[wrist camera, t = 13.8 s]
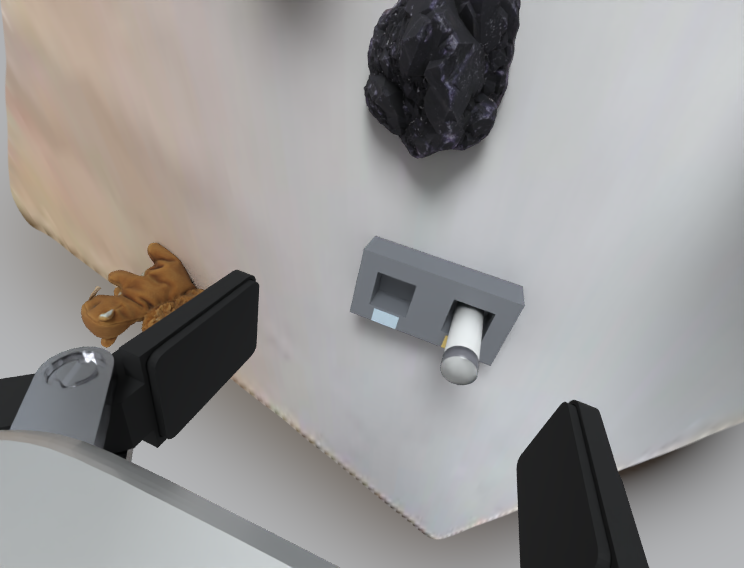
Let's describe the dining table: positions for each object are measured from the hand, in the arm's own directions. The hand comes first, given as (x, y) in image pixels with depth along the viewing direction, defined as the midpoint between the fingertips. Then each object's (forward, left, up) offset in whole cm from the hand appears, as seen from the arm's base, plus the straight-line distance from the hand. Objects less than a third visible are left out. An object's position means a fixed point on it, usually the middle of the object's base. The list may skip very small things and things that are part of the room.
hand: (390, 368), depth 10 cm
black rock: (+5, -8, -29) cm, 30 cm away
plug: (-5, +14, -28) cm, 31 cm away
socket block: (-1, +14, -28) cm, 31 cm away
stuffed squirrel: (+35, +28, -29) cm, 53 cm away
